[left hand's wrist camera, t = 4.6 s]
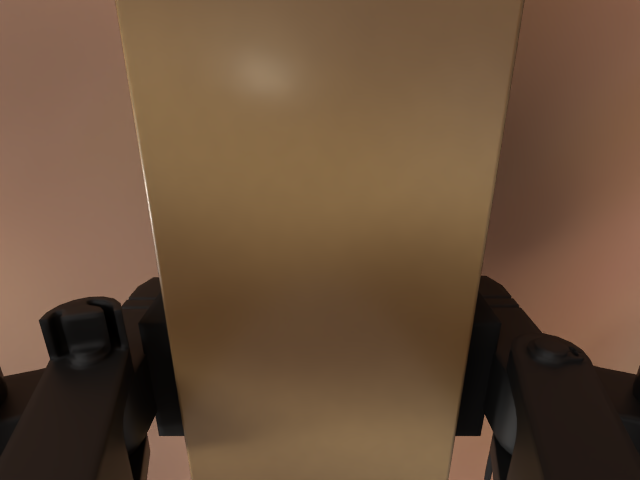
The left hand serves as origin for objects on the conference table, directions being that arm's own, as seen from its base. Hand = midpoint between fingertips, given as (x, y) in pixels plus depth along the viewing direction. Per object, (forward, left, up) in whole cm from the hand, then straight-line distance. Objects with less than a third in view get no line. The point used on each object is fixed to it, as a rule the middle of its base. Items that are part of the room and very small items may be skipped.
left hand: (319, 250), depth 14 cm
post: (-17, +19, -1) cm, 26 cm away
